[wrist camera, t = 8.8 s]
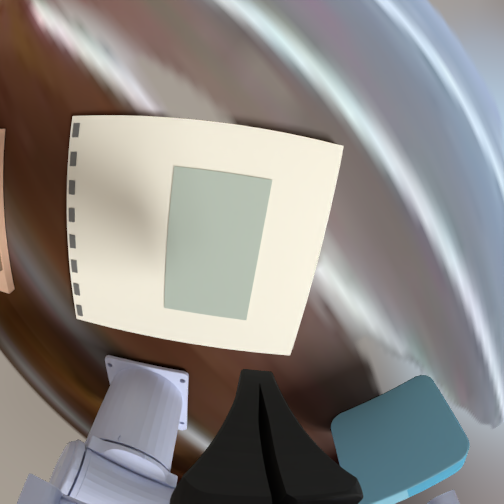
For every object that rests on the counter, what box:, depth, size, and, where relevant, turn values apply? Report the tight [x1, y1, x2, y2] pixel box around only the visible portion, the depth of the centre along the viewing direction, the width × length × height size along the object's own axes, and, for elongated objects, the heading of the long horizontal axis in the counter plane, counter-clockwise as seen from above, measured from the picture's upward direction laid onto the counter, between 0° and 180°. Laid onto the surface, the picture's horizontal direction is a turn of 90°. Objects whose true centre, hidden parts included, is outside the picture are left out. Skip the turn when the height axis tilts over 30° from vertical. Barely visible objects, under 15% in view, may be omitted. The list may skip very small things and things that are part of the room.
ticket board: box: [67, 115, 344, 355], centre depth 19 cm, size 16×18×1 cm
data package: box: [331, 375, 469, 504], centre depth 21 cm, size 12×4×12 cm, turn 118°
